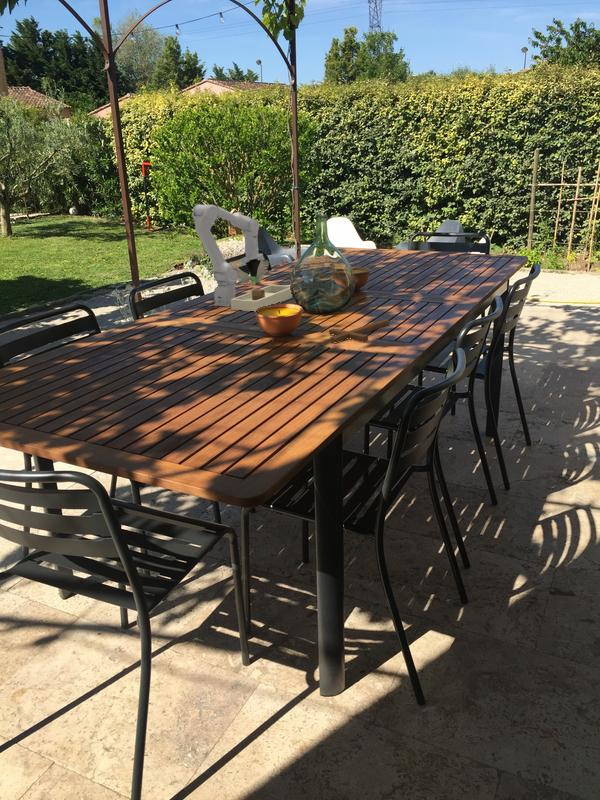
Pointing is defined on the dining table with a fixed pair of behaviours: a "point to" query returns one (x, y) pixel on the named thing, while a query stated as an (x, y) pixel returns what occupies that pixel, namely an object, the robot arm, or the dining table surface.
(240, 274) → the decorative bird
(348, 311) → the dining table surface
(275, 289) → the trap box
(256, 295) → the walnut block
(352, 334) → the cross
